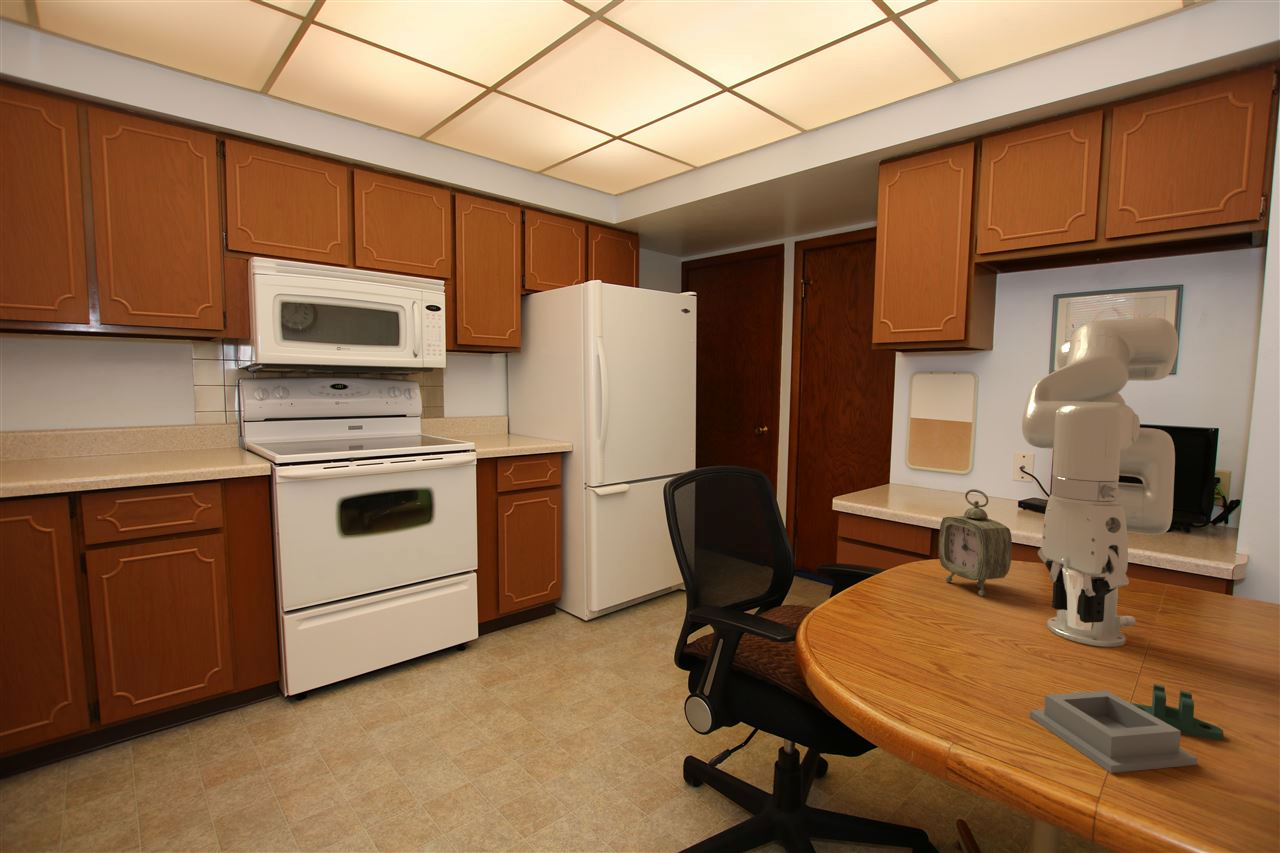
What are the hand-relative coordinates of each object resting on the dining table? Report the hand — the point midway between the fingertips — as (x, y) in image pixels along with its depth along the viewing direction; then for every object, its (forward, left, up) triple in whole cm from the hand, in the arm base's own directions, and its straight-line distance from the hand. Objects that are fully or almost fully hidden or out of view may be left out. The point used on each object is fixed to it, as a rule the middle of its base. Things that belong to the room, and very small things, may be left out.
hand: (1077, 613), depth 84 cm
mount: (-16, +1, -18) cm, 24 cm away
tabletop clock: (-29, -57, -17) cm, 66 cm away
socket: (-3, +3, -17) cm, 18 cm away
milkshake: (0, 0, -2) cm, 2 cm away
